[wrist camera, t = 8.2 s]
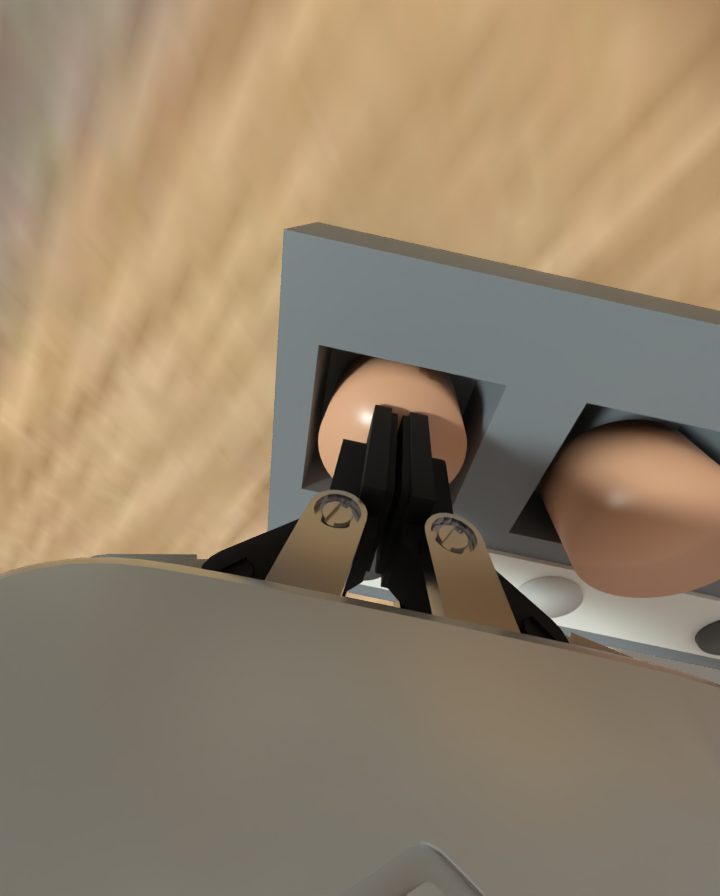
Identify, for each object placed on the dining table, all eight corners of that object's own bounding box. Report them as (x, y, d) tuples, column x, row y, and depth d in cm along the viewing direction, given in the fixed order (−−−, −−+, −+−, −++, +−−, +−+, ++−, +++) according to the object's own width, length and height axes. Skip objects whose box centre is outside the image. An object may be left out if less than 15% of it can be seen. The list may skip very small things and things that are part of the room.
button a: (343, 333, 13) (328, 365, 11) (474, 362, 13) (490, 400, 11) (326, 442, 16) (310, 488, 13) (435, 465, 16) (440, 516, 13)
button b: (582, 405, 12) (631, 462, 9) (728, 436, 12) (818, 502, 9) (518, 512, 14) (542, 579, 12) (637, 537, 14) (687, 610, 12)
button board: (317, 222, 12) (279, 230, 9) (996, 372, 13) (1234, 440, 9) (288, 514, 20) (262, 582, 17) (707, 602, 21) (771, 688, 17)
